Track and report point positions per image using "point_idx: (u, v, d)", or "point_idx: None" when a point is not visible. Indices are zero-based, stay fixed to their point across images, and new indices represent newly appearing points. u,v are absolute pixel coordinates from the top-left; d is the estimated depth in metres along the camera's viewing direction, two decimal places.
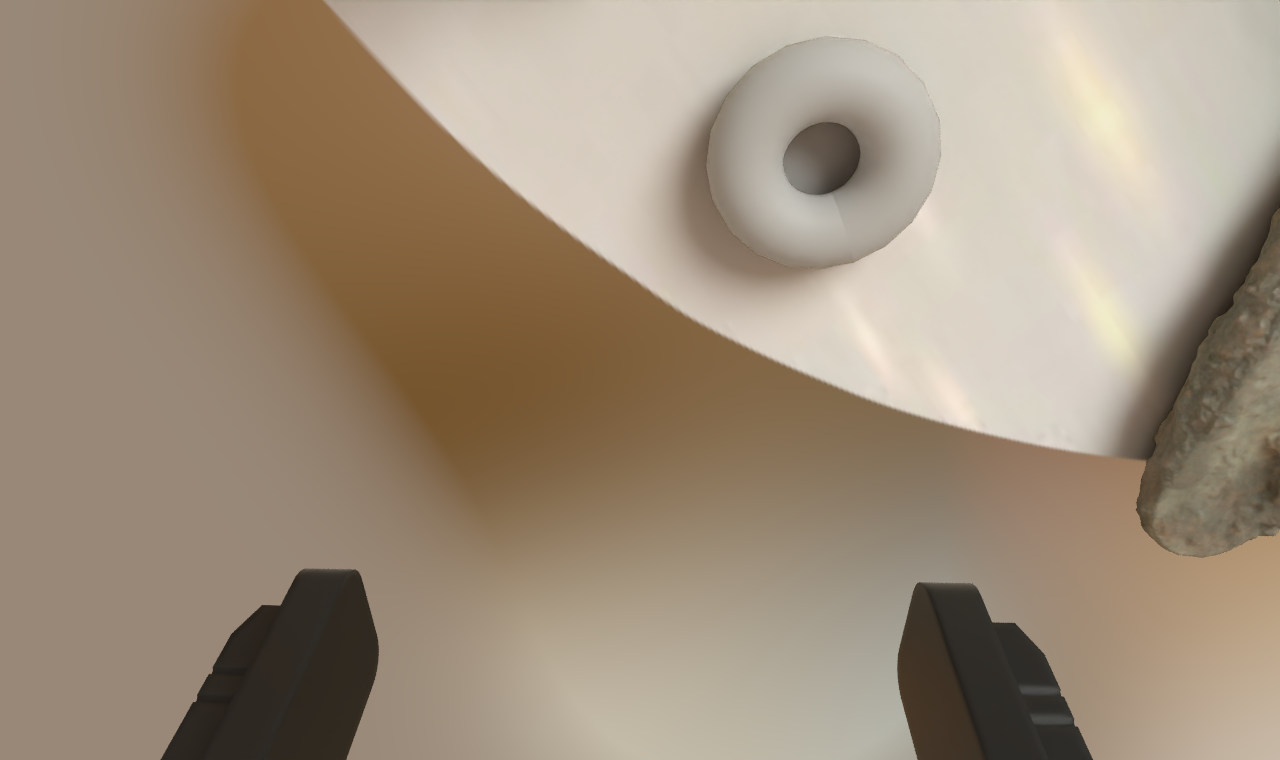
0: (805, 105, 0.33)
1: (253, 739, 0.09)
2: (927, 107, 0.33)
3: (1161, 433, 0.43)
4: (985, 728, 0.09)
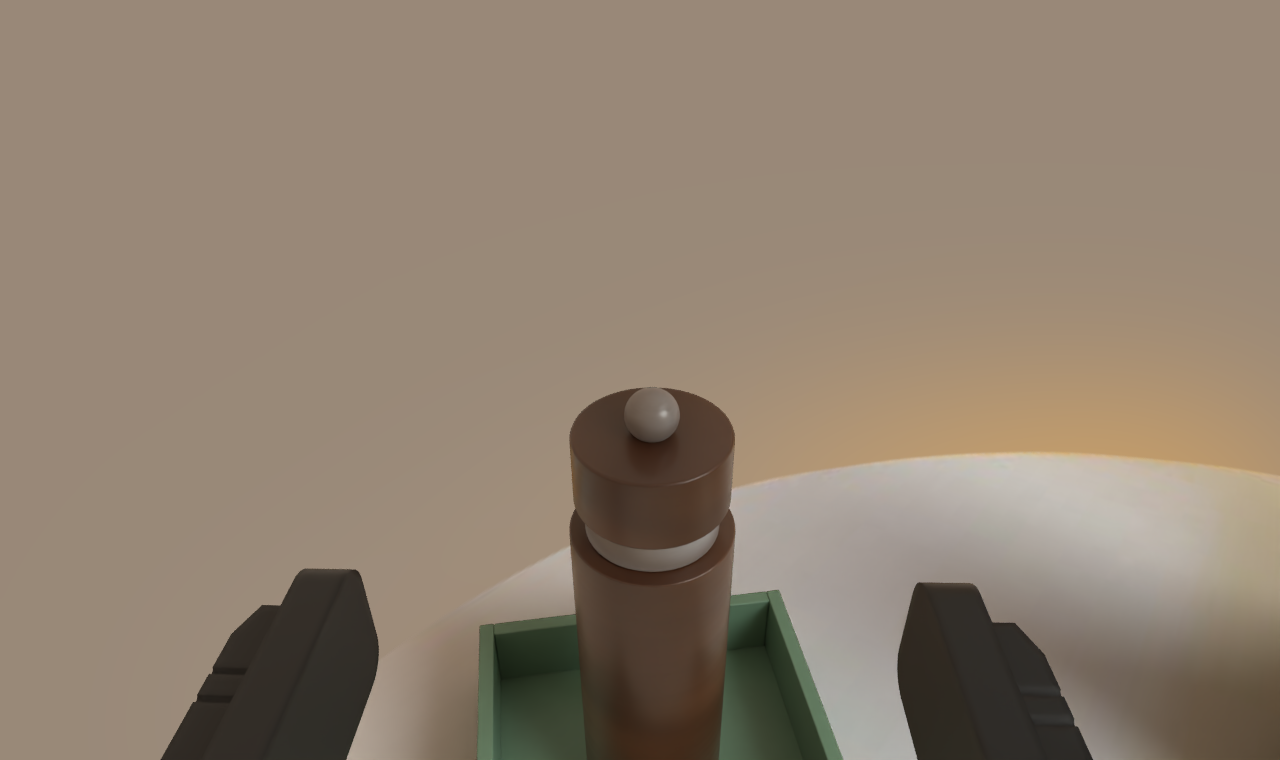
0: None
1: (253, 739, 0.09)
2: None
3: None
4: (985, 728, 0.09)
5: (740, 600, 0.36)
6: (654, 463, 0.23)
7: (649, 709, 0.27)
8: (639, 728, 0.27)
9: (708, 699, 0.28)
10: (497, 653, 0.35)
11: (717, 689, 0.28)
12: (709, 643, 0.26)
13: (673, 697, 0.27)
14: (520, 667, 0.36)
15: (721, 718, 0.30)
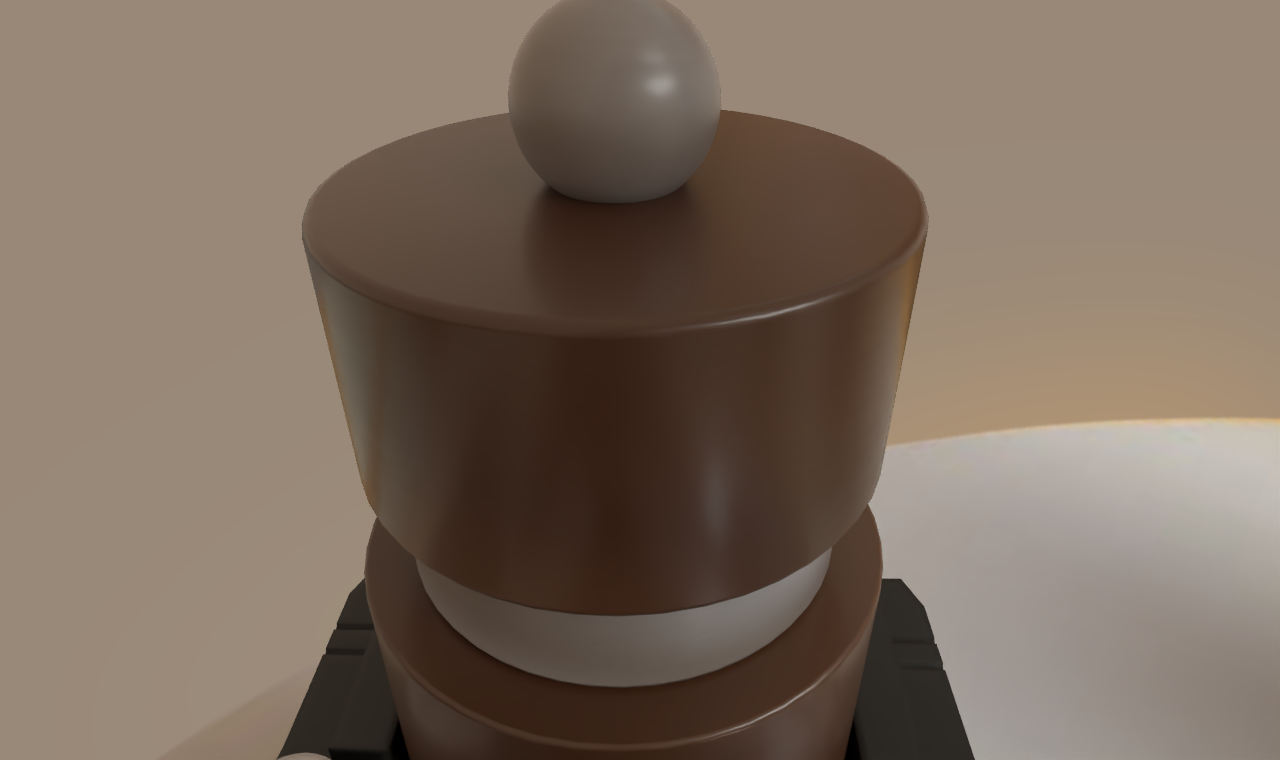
0: None
1: None
2: None
3: None
4: None
5: None
6: (620, 253, 0.05)
7: None
8: None
9: None
10: None
11: None
12: None
13: None
14: None
15: None
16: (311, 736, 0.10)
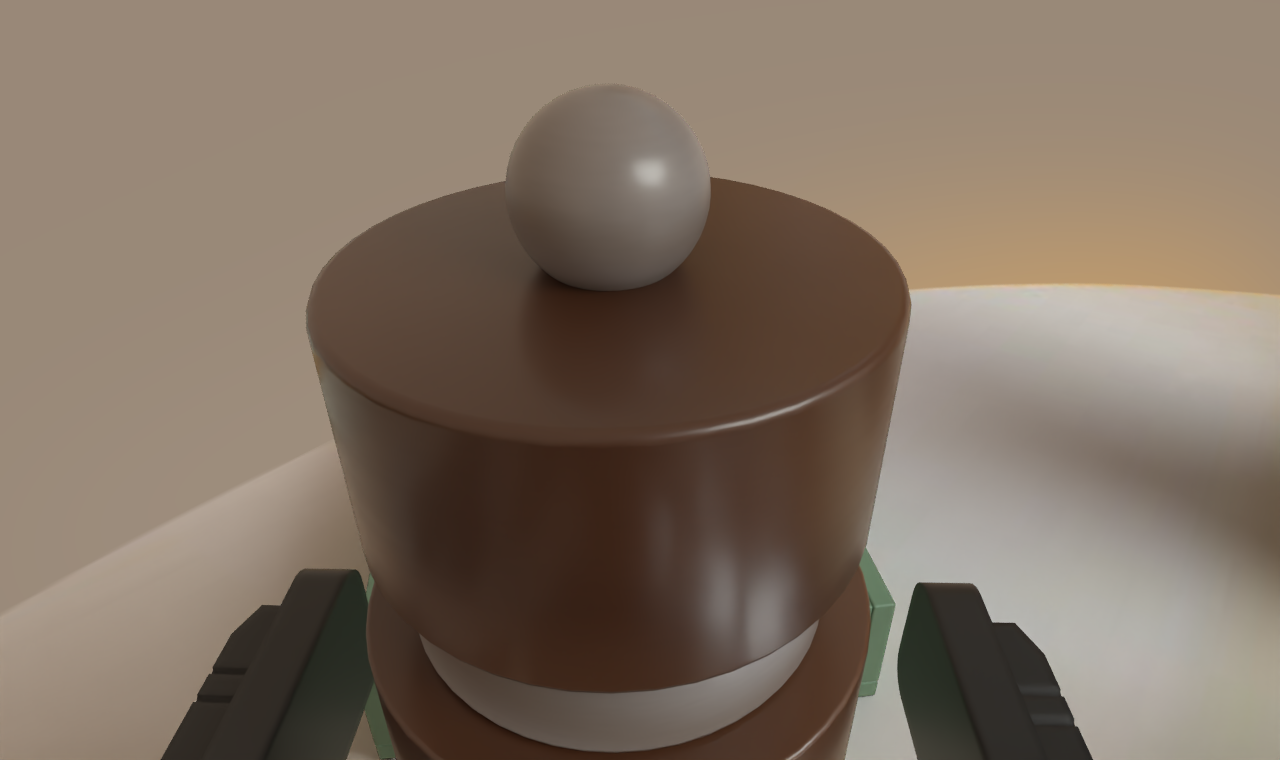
0: None
1: (253, 739, 0.09)
2: None
3: None
4: (985, 728, 0.09)
5: None
6: (611, 350, 0.06)
7: None
8: None
9: None
10: None
11: None
12: None
13: None
14: None
15: None
16: None
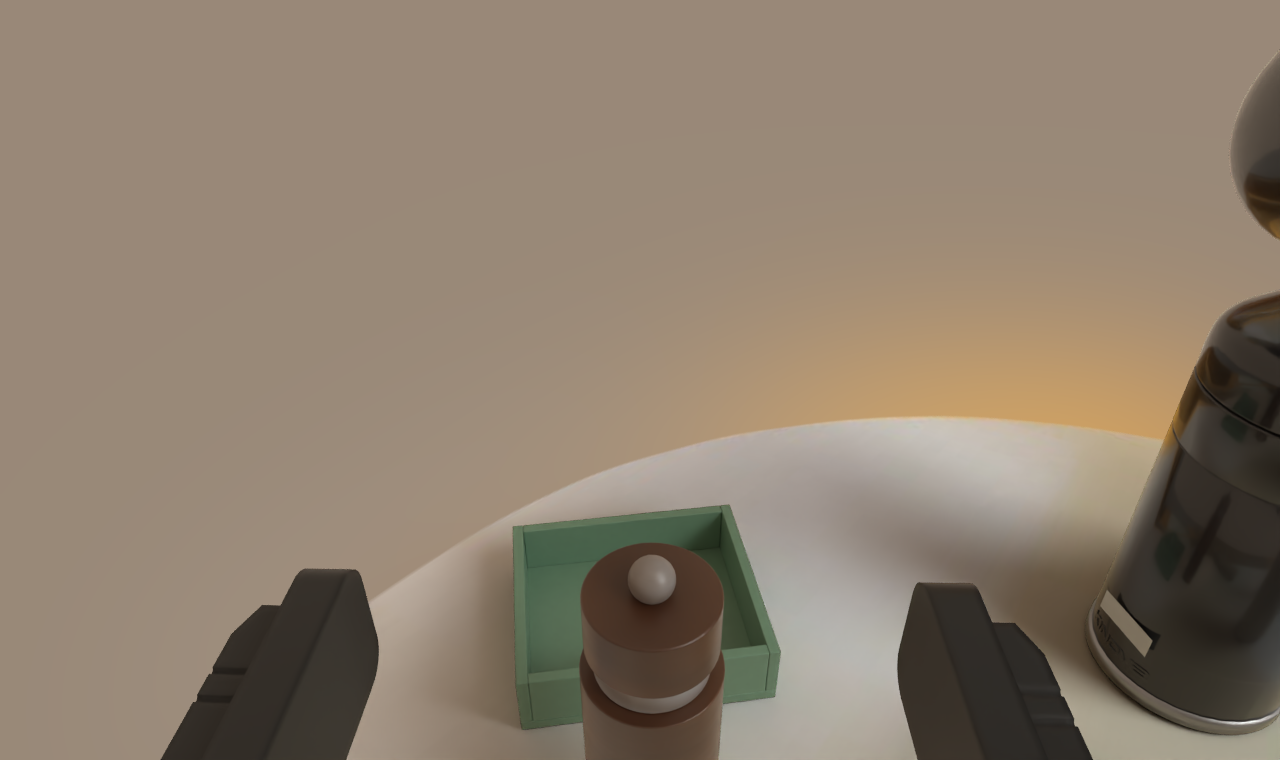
0: None
1: (253, 739, 0.09)
2: None
3: None
4: (985, 728, 0.09)
5: (701, 511, 0.50)
6: (654, 626, 0.26)
7: None
8: None
9: None
10: (525, 547, 0.49)
11: None
12: None
13: None
14: (541, 558, 0.50)
15: None
16: None
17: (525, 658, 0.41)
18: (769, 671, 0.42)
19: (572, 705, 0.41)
